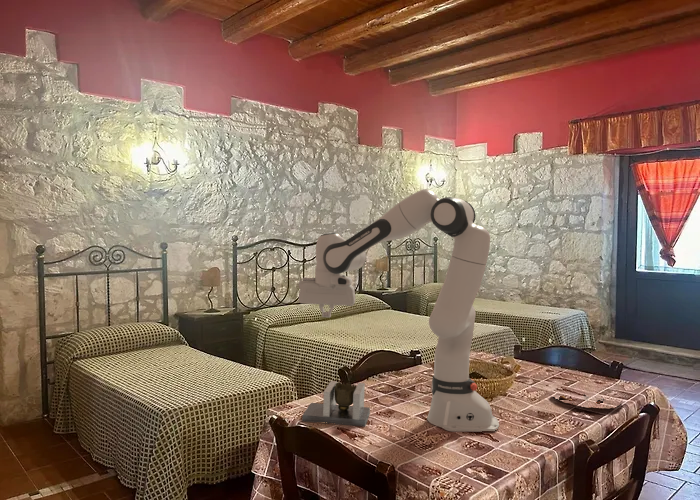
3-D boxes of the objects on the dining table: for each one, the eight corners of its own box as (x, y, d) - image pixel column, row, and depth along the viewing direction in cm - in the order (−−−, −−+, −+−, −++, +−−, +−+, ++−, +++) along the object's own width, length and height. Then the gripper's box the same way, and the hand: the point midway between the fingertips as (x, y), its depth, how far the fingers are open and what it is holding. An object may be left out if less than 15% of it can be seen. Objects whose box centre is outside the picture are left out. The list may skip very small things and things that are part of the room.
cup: (351, 415, 174) (354, 390, 173) (329, 411, 175) (331, 386, 175) (357, 407, 181) (359, 384, 180) (335, 404, 183) (337, 380, 182)
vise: (369, 413, 181) (370, 383, 181) (365, 426, 170) (366, 394, 169) (310, 408, 184) (311, 379, 184) (302, 421, 173) (303, 389, 172)
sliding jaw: (336, 404, 183) (336, 381, 183) (329, 416, 171) (330, 392, 171) (330, 403, 183) (331, 380, 183) (323, 416, 172) (323, 391, 171)
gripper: (296, 278, 193) (295, 316, 194) (354, 280, 190) (352, 320, 191) (301, 276, 200) (300, 314, 200) (356, 278, 197) (355, 317, 197)
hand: (326, 317), depth 196 cm, fingers closed
